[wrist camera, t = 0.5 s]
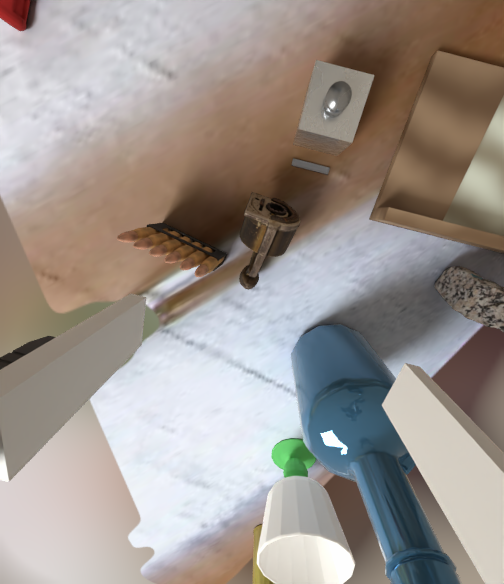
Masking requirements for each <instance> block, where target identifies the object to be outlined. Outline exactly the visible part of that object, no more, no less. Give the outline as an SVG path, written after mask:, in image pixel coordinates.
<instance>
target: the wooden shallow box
mask: <svg viewBox="0 0 504 584" xmlns="http://www.w3.org/2000/svg"><path fill="white" fill-rule="evenodd" d="M369 219H370V220H374V221H378V222H382V223H386V224H389V225H393V226H397V227H401V228H405V229H409V230H413V231H417V232H421V233H425V234H429V235H433V236H436V237H440V238H444V239H448V240H452V241H456V242H460V243H464V244H468V245H472V246H476V247H480V248H483V249H487V250H491V251H495V252H499V253H503V254H504V68H503V67H499V66H495V65H491V64H487V63H484V62H480V61H476V60H472V59H468V58H465V57H461V56H457V55H453V54H449V53H446V52H442V51H437V52H436V53H435V54H434V55H433V56H432V58H431V60H430V63H429V66H428V68H427V71H426V73H425V76H424V79H423V81H422V84H421V86H420V89H419V92H418V94H417V97H416V99H415V102H414V104H413V107H412V110H411V112H410V115H409V117H408V120H407V123H406V125H405V128H404V130H403V133H402V136H401V138H400V141H399V143H398V146H397V149H396V151H395V154H394V156H393V159H392V161H391V164H390V167H389V169H388V172H387V174H386V177H385V180H384V182H383V185H382V187H381V190H380V193H379V195H378V198H377V200H376V203H375V206H374V208H373V211H372V213H371V216H370V218H369Z"/></svg>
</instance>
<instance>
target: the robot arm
mask: <svg viewBox="0 0 504 584" xmlns="http://www.w3.org/2000/svg"><path fill="white" fill-rule="evenodd" d="M145 304H146V297H142V296H138V295H134V294H129V295H128V296H126V297H124V298H122V299H121V300H119V301H117V302H116V303H114V304H112V305H111V306H109V307H107V308H105V309H104V310H102V311H100V312H99V313H97V314H95V315H93V316H92V317H90V318H88V319H86V320H85V321H83V322H81V323H80V324H78V325H76V326H74V327H73V328H71V329H69V330H68V331H66V332H64V333H63V334H61V335H59V336H57V337H52V336H47V337H43V338H40V339H37V340H34V341H31V342H28V343H27V344H25V345H23V346H21V347H19V348H17V349H15V350H13V352H12V353H8V354H6V355H4V356H3V357H0V480H3V481H8V482H9V481H10V480H11V479H12V478H13V477H14V476H15V475H16V474H17V473H18V472H19V471H20V470H21V469H22V468H23V467H24V466H25V465H26V464H27V463H28V462H29V461H30V460H31V459H32V458H33V457H34V456H35V454H36V453H37V452H38V451H39V450H40V449H41V448H42V447H43V446H44V445H45V444H46V443H47V442H48V441H49V440H50V439H51V438H52V437H53V436H54V435H55V434H56V433H57V432H58V431H59V430H60V429H61V428H62V426H64V424H65V423H66V422H67V421H68V420H69V419H70V418H71V417H72V416H73V415H74V414H75V413H76V412H77V411H78V410H79V409H80V408H81V407H82V406H83V405H84V404H85V403H86V402H87V401H88V400H89V399H90V398H91V397H92V396H93V395H94V394H95V392H96V391H97V390H98V389H99V388H100V387H101V386H102V385H103V384H104V383H105V382H106V381H107V380H108V379H109V378H110V377H111V376H112V375H113V374H114V373H115V372H116V371H117V370H118V369H119V368H120V367H121V366H122V365H123V364H124V363H125V361H126V360H127V359H128V358H129V357H130V356H131V355H132V354H133V353H134V352H135V351H136V350H137V349H138V348H139V347H140V346H141V345H142V335H143V323H144V314H145ZM382 407H383V409H384V410H385V412H386V414H387V415H388V417H389V419H390V421H391V422H392V424H393V426H394V428H395V429H396V431H397V433H398V434H399V436H400V438H401V440H402V441H403V443H404V445H405V446H406V448H407V450H408V452H409V453H410V455H411V457H412V459H413V460H414V462H415V464H416V465H417V467H418V469H419V471H420V472H421V474H422V476H423V477H424V479H425V481H426V482H427V484H428V486H429V488H430V489H431V491H432V493H433V495H434V496H435V498H436V500H437V501H438V503H439V505H440V507H441V508H442V510H443V512H444V514H445V515H446V517H447V519H448V521H449V522H450V524H451V526H452V527H453V529H454V531H455V533H456V534H457V536H458V538H459V539H460V541H461V543H462V545H463V546H464V548H465V550H466V552H467V553H468V555H469V557H470V558H471V560H472V562H473V564H474V565H475V567H476V569H477V570H478V572H479V574H480V575H481V577H482V579H483V581H484V582H485V584H504V453H503V452H502V451H501V450H500V449H499V448H498V447H497V446H496V445H495V444H494V443H493V442H492V441H491V439H490V438H489V437H487V436H486V434H484V432H483V431H482V430H481V429H480V428H479V427H478V426H477V425H476V424H475V423H474V422H473V421H472V420H471V419H470V418H469V417H468V416H467V415H466V414H465V413H464V412H463V411H462V410H461V409H460V408H459V407H458V406H457V405H456V404H455V402H453V400H452V399H451V398H450V397H449V396H448V395H447V394H446V393H445V392H444V391H442V389H441V388H440V387H439V386H438V385H437V384H436V383H435V382H434V381H433V380H432V379H431V378H430V377H429V376H428V375H427V374H426V373H425V372H424V371H423V370H422V369H421V368H420V367H418V366H414V365H411V364H407V363H405V364H404V366H403V367H402V369H401V371H400V373H399V375H398V377H397V378H396V380H395V382H394V384H393V386H392V387H391V389H390V391H389V393H388V395H387V396H386V398H385V400H384V402H383V404H382Z"/></svg>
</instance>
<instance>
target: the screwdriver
mask: <svg viewBox="0 0 504 584" xmlns="http://www.w3.org/2000/svg"><path fill="white" fill-rule="evenodd" d="M29 6H30V0H0V18H1V19H2V20H4V21H5V22H7V23H8V24H9V25H11V26H12V27H14V28H15V29H17V30H19V31H24V30H25V29H26V21H27V16H28V11H29Z"/></svg>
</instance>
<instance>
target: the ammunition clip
mask: <svg viewBox="0 0 504 584" xmlns="http://www.w3.org/2000/svg"><path fill="white" fill-rule="evenodd" d="M117 239H118V240H119V241H122V242H135V243H134V245H133V247H134V248H136V249H149V248H152V249H151V250H150V252H149V254H150V255H151V256H162V255H167V256H166V258H165V262H166V263H175V262H178V261H183V260H184V261H183V262H182V263H181V265H180V269H181V270H188V269H191V268H193V267H197V266H198V265H200V266H199V267H198V268H197V269H196V271H195V276H196V277H202V276H204V275H206V274H207V273H210V272H211V271H214V270H216V269H217V268H218V267H219V266H221V265H222V264H223V262H224V260H225V257H226V255H227V254H226V253H225V252H222V251H220V250H218V249H216V248H214V247H212V246H210V245H208V244H206V243H204V242H202V241H200V240H198V239H195V238H193V237H191V236H189V235H187V234H185V233H183V232H181V231H179V230H177V229H175V228H173V227H170V226H168V225H166V224H164V223H157V224H149V225H147V227H145V228H138V229H135V230H132V231H128V232H124V233H122V234H120V235H119V236H118V237H117Z"/></svg>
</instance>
